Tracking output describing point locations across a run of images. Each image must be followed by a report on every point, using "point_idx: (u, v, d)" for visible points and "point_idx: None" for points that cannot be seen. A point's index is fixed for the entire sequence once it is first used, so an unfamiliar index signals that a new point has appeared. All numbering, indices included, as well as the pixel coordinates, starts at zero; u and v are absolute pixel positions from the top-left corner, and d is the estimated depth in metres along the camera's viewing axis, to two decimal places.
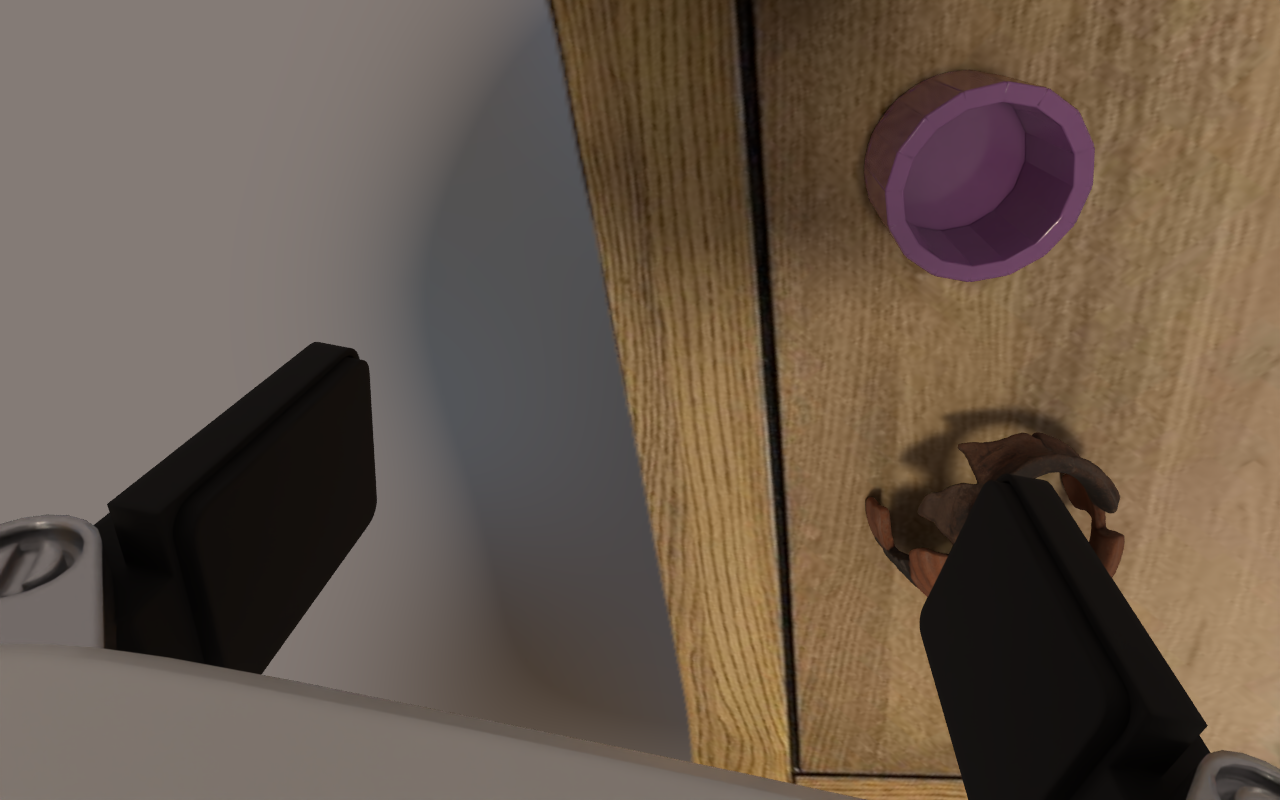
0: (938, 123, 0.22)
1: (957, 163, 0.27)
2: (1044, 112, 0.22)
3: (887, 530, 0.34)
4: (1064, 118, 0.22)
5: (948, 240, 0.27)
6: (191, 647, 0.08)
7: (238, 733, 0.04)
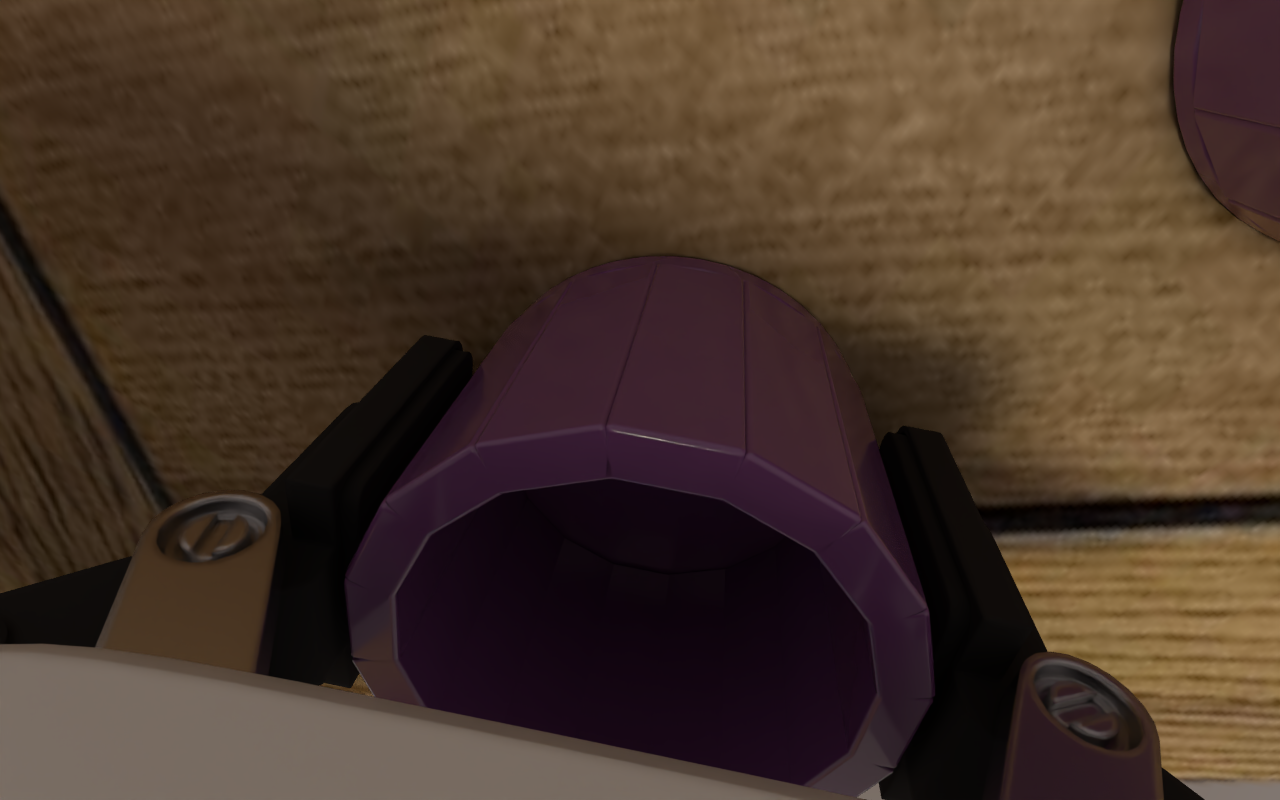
0: None
1: None
2: None
3: None
4: None
5: None
6: (343, 613, 0.08)
7: (238, 733, 0.04)
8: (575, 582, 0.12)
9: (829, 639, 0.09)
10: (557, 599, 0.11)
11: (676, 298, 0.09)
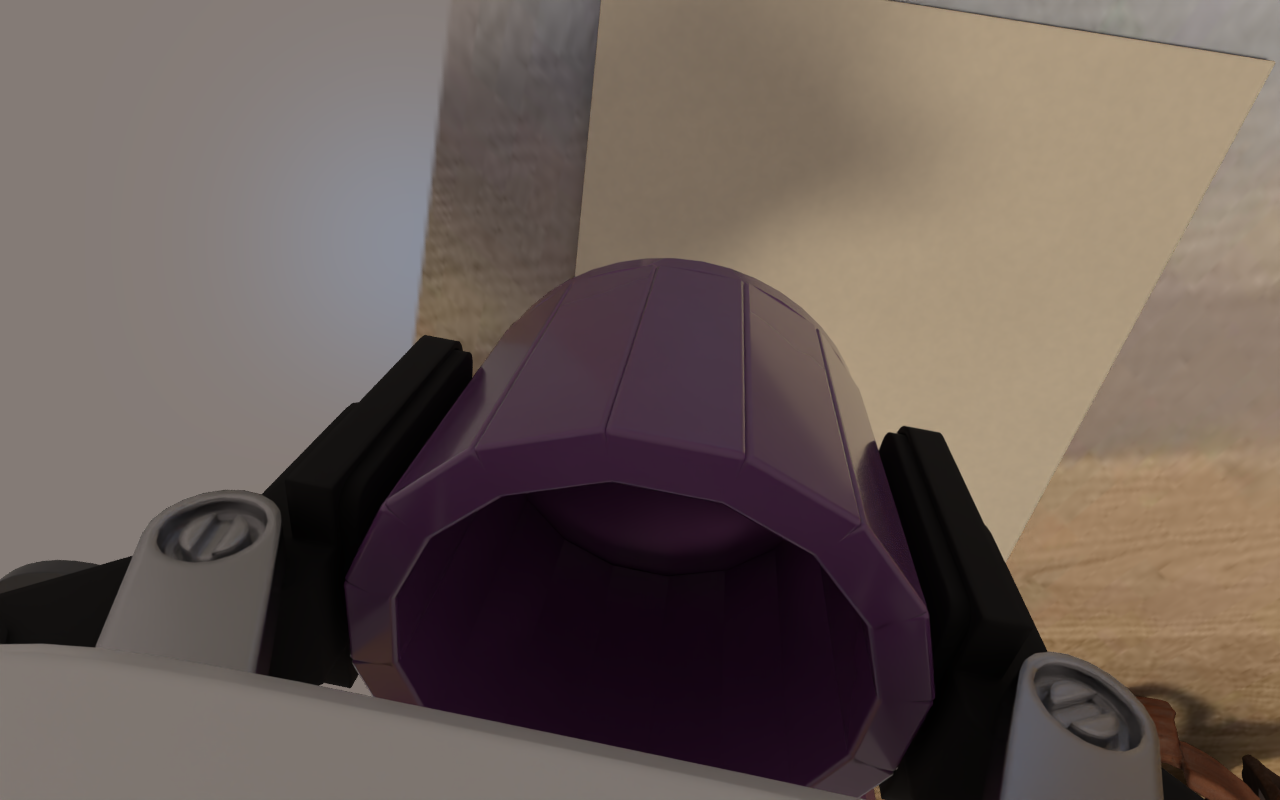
0: None
1: None
2: None
3: None
4: None
5: None
6: (343, 613, 0.08)
7: (238, 733, 0.04)
8: (575, 584, 0.12)
9: (829, 641, 0.09)
10: (557, 601, 0.11)
11: (676, 300, 0.09)
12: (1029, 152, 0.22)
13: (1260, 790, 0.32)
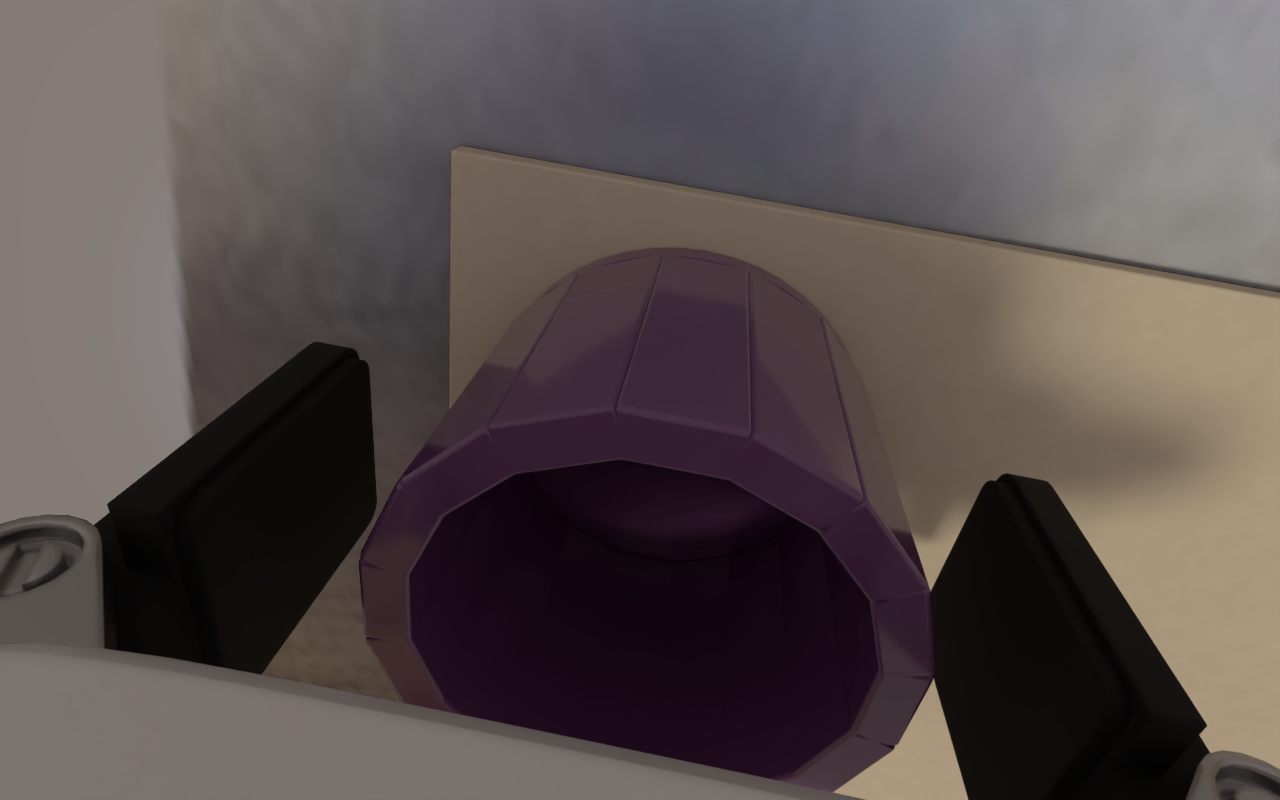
0: None
1: None
2: None
3: None
4: None
5: None
6: (193, 645, 0.08)
7: (238, 733, 0.04)
8: (581, 569, 0.12)
9: (831, 622, 0.09)
10: (564, 586, 0.12)
11: (682, 287, 0.09)
12: None
13: None
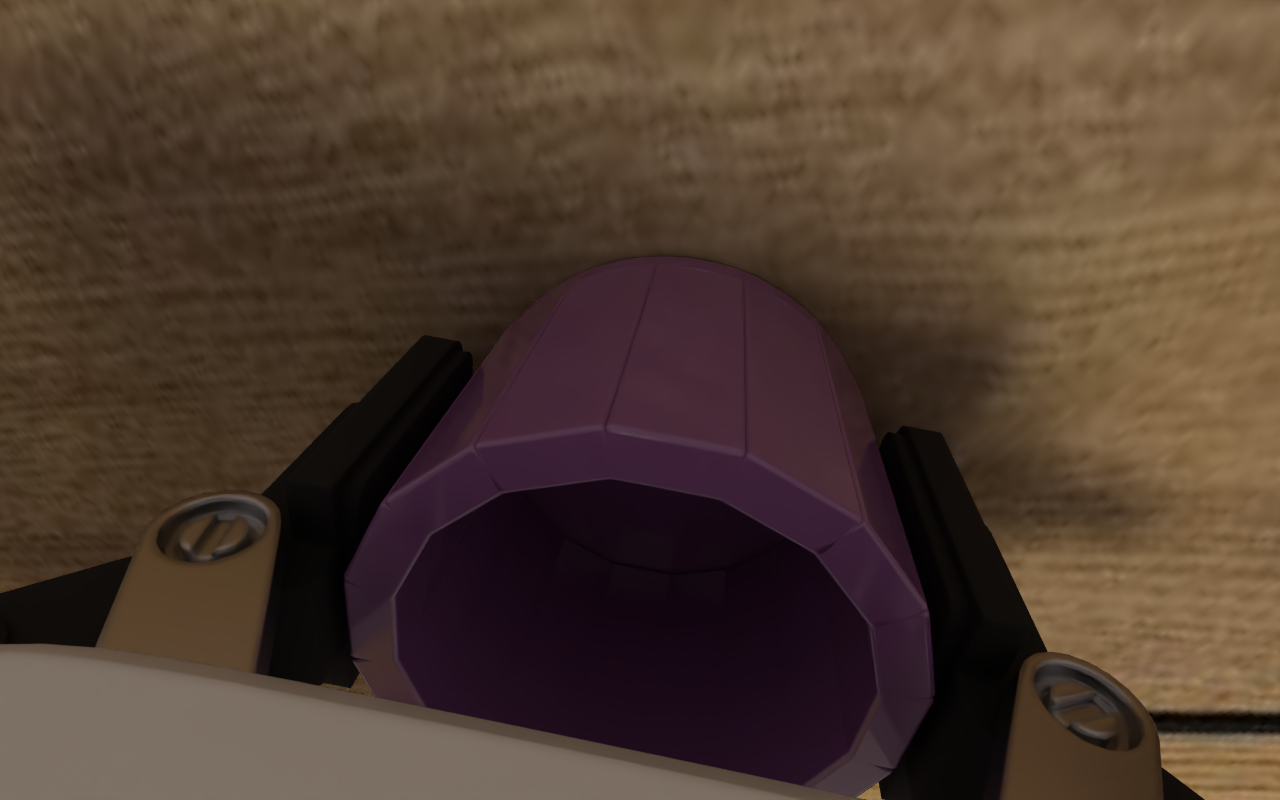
0: None
1: None
2: (403, 580, 0.07)
3: None
4: (407, 536, 0.07)
5: None
6: (343, 613, 0.08)
7: (238, 733, 0.04)
8: None
9: None
10: None
11: None
12: None
13: None
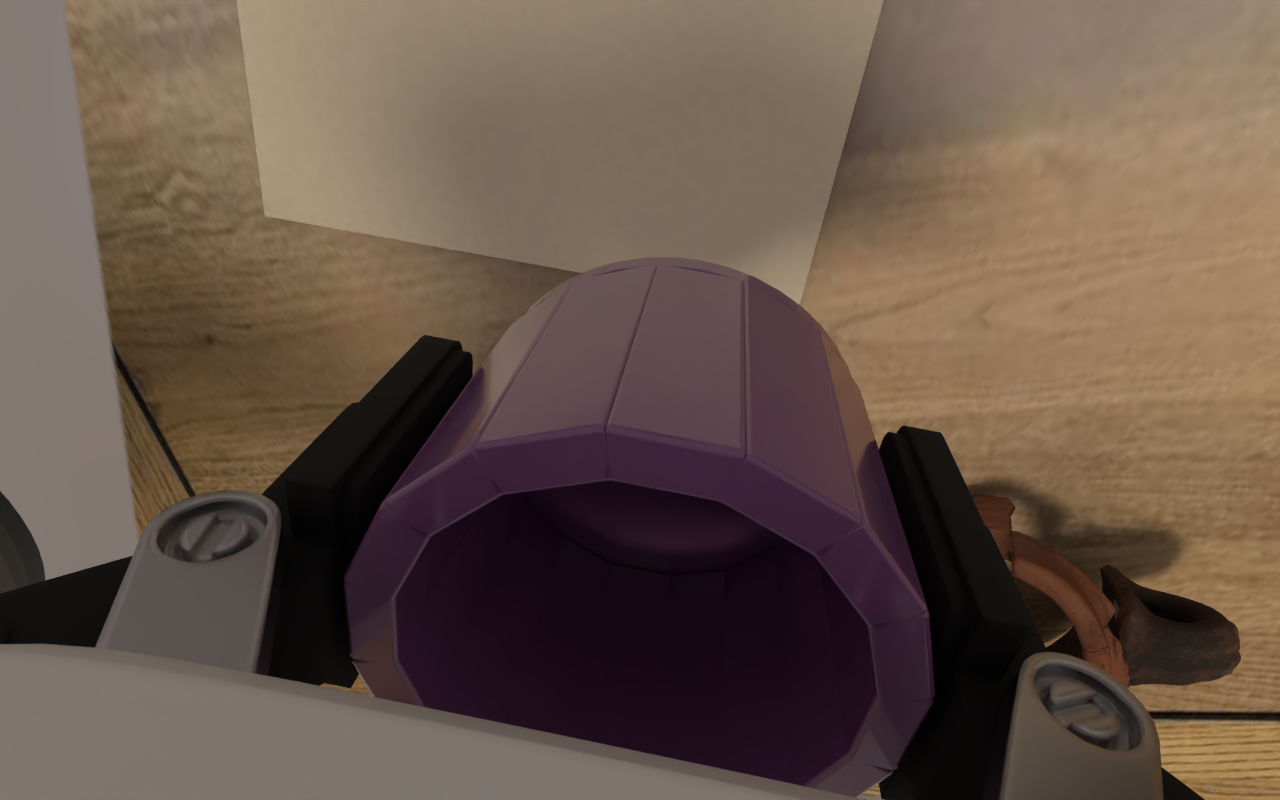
0: None
1: None
2: (402, 581, 0.07)
3: None
4: (407, 537, 0.07)
5: None
6: (343, 613, 0.08)
7: (238, 733, 0.04)
8: None
9: None
10: None
11: None
12: None
13: (1114, 598, 0.27)
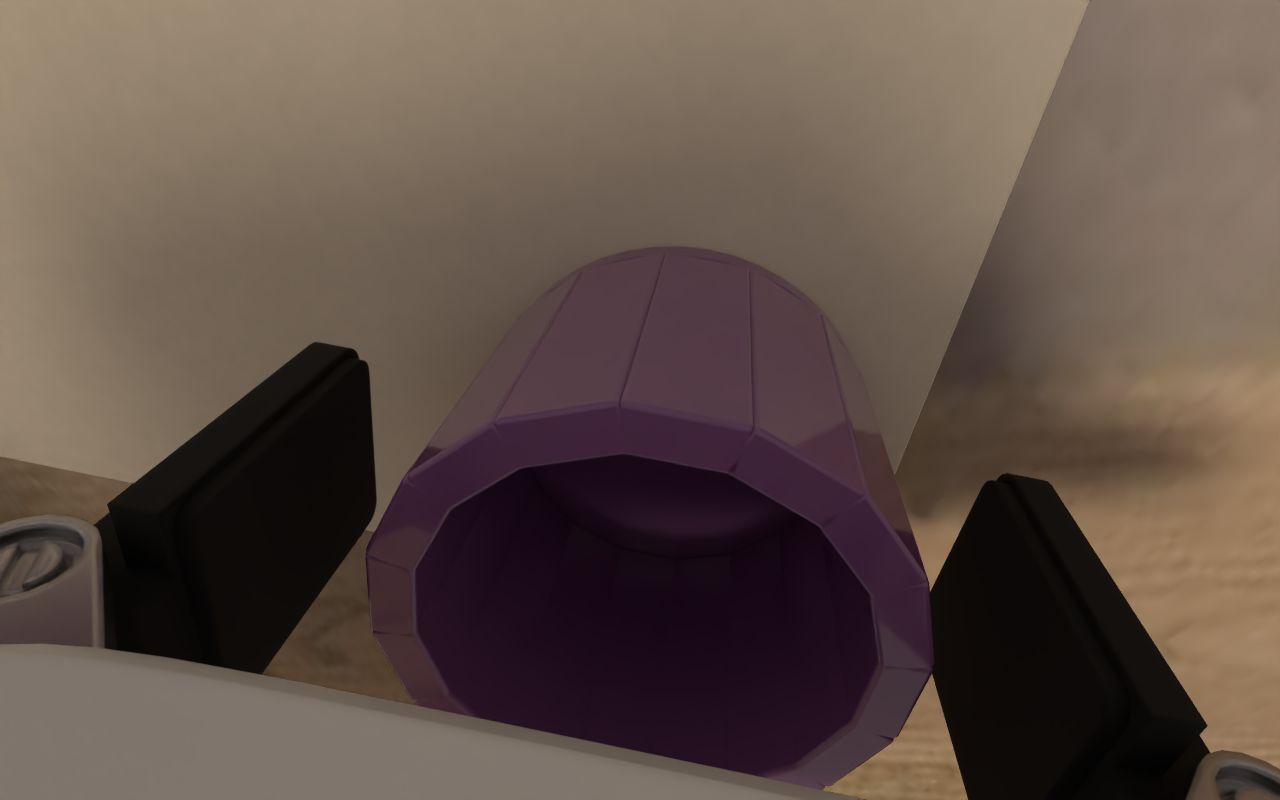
0: None
1: None
2: (423, 554, 0.08)
3: None
4: (428, 510, 0.07)
5: None
6: (193, 645, 0.08)
7: (238, 733, 0.04)
8: None
9: None
10: None
11: None
12: None
13: None
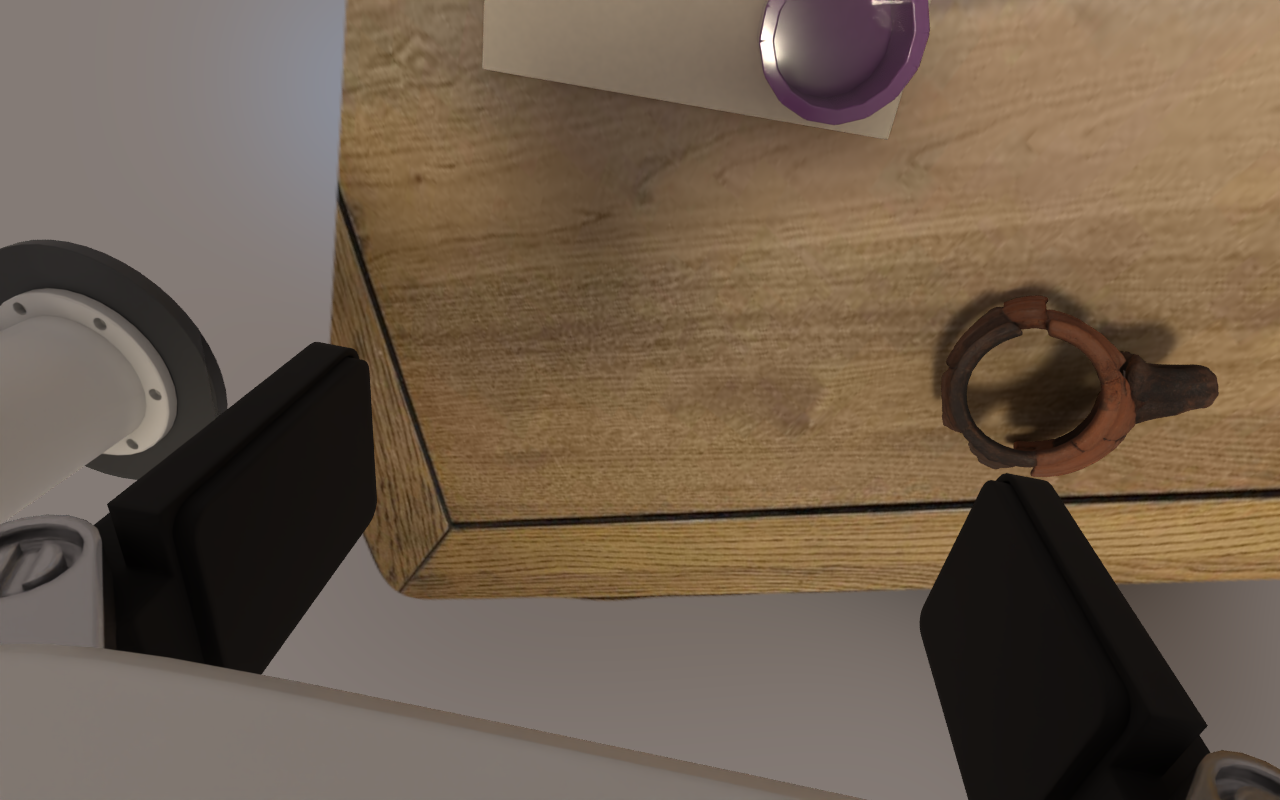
0: (786, 91, 0.28)
1: (831, 27, 0.31)
2: (784, 2, 0.27)
3: None
4: None
5: (897, 32, 0.30)
6: (191, 646, 0.08)
7: (238, 733, 0.04)
8: None
9: None
10: None
11: None
12: None
13: (1124, 369, 0.35)
